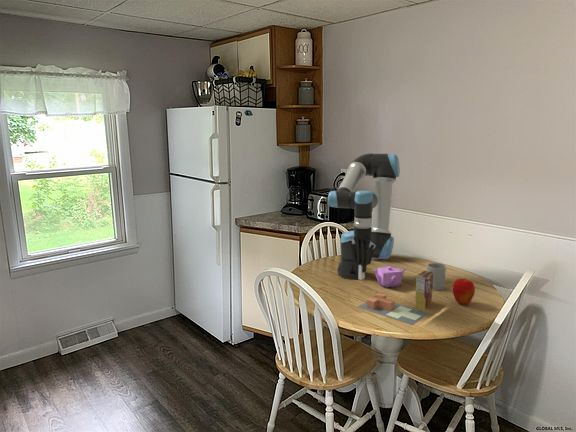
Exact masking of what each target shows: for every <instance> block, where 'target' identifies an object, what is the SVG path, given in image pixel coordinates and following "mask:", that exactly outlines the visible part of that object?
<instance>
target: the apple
mask: <svg viewBox="0 0 576 432" xmlns="http://www.w3.org/2000/svg"><path fill="white" fill-rule="evenodd" d="M475 291H476V287H475V285H474V283H473V282H472V281H471V280H470V279H467V278H458V279H456V280H454V282H453V284H452V294H453V297H454V300H455V301H456V302H457V303H458V304H459V305H461V306H464V305H465V306H466V305H468V304H469V303H470V302H471V301H472V299H473V298H474V296H475Z"/></svg>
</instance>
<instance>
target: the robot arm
mask: <svg viewBox="0 0 576 432" xmlns="http://www.w3.org/2000/svg"><path fill="white" fill-rule="evenodd" d="M400 172H401V171H400V161H399V156H398V155H397V154H394V153H370V152H369V153H365V154H362V155H359V156H358V157H356V158H354V159H353V160H352V161H351V162H350V163H349V166H348V167H347V172H346V175H345V176H344V177H343V179H342V181H341V182H340V185H339V187H338V188H337V190H330V191H329V193H328V196H327V204H328V206H329V207H331V208H338V209H339V208H340V209H353V210H354V221H353V222H354V223H353V225H354V227H353V230H348V231H345V232H343V233H342V234H341V237H340V261H339V263H338V267H337V270H336V271H337V273H336V275H337V274H338V275H339V276H338V275H337V276H338V277H340V276H341V277H340V278H342V277H344V279H347V278H348V280H357V279H358V280H359V281H361V280H364V279H365V277H366V276H367V266H368V265H370V264H371V262H372V261H373V260H372V258H378V259H377V260H379V259H380V260H387V259H388V260H389V258H390V257H391V255H392V252H393V248H394V243H395V242H394V241H395V238H394V237H393V236H392V232H391V231H390V229H389V226H390V217H391V214H390V213H391V204H392V193H393V192H392V191H393V184H394V183H395V182H396V180H397V178H398V177H400ZM367 176H370V177H372V180H373V181H374V182H375V186H374V192H373V191H370V190H357V191H356V189H357V187H358V185H359V184H360V182H361V180H362V179H363V178H365V177H367ZM372 211H373V217H372ZM371 226H372V228H371Z"/></svg>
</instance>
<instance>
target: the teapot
mask: <svg viewBox="0 0 576 432" xmlns="http://www.w3.org/2000/svg"><path fill="white" fill-rule="evenodd" d="M406 270H408V268H407V267H404V268H402V269H401V270H400V269H399V268H398V267H397V266H389V265H388V266H384V267H377V270H376V269H371V271H373V272H374V274H375V277H376V279H377V280H376V281H377V283H378V284H379V285H380V287H382V288H384V289H389V287H392V288H393V289H397V288H398V287H401V286H402V278H403V275H404V272H405V271H406Z"/></svg>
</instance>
